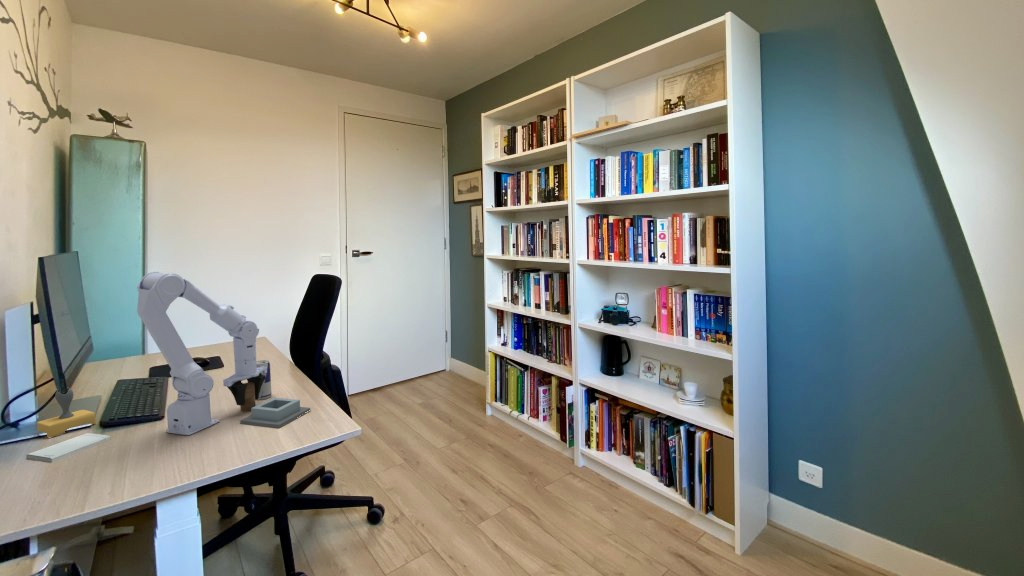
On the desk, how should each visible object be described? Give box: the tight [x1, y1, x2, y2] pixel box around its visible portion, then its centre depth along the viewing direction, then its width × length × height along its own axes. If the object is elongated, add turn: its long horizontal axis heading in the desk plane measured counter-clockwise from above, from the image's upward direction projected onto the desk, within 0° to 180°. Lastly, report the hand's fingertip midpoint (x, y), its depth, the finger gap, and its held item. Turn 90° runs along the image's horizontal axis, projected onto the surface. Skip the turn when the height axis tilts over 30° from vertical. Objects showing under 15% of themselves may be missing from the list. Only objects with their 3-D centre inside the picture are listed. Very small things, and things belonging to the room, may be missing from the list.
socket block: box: [239, 397, 311, 429], centre depth 129 cm, size 13×13×4 cm
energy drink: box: [255, 359, 272, 401], centre depth 145 cm, size 5×5×12 cm
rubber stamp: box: [36, 387, 97, 438], centre depth 119 cm, size 10×6×12 cm, turn 159°
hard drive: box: [25, 432, 111, 463], centre depth 109 cm, size 2×8×12 cm
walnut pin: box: [239, 381, 257, 413], centre depth 135 cm, size 4×4×8 cm
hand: (247, 401), depth 135 cm, fingers open, 5 cm apart
